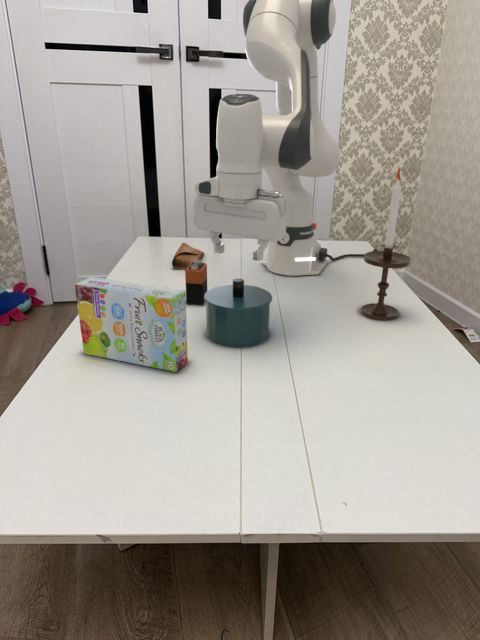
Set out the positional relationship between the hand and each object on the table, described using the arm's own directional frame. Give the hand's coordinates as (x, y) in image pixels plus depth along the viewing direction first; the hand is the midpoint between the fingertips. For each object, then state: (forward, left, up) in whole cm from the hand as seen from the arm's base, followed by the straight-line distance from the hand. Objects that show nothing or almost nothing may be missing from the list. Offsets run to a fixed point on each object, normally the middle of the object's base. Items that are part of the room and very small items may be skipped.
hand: (238, 256), depth 104 cm
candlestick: (-30, +23, -18) cm, 42 cm away
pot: (0, 0, -18) cm, 18 cm away
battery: (-12, -20, -18) cm, 29 cm away
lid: (0, 0, -9) cm, 9 cm away
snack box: (+21, -11, -18) cm, 30 cm away
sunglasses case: (-39, -43, -18) cm, 61 cm away
